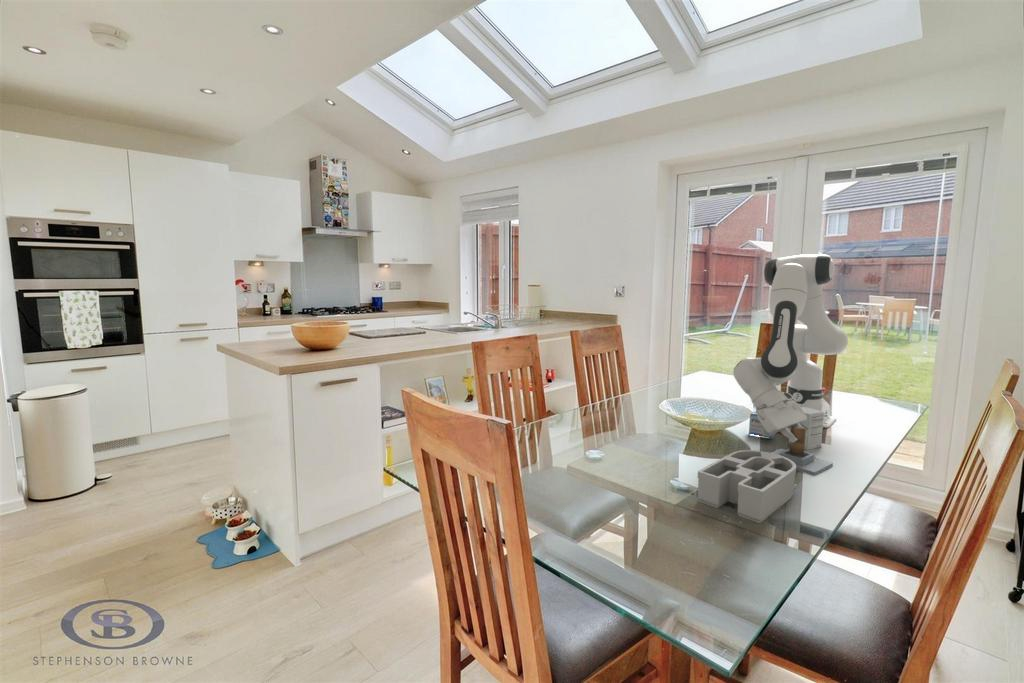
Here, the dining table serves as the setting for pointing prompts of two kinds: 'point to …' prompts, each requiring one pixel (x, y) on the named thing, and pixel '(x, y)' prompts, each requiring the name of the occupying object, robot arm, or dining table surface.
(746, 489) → the grey compartment organizer
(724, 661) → the dining table surface
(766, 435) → the medicine box
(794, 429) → the knob
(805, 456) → the hub plate
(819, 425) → the supplement box
